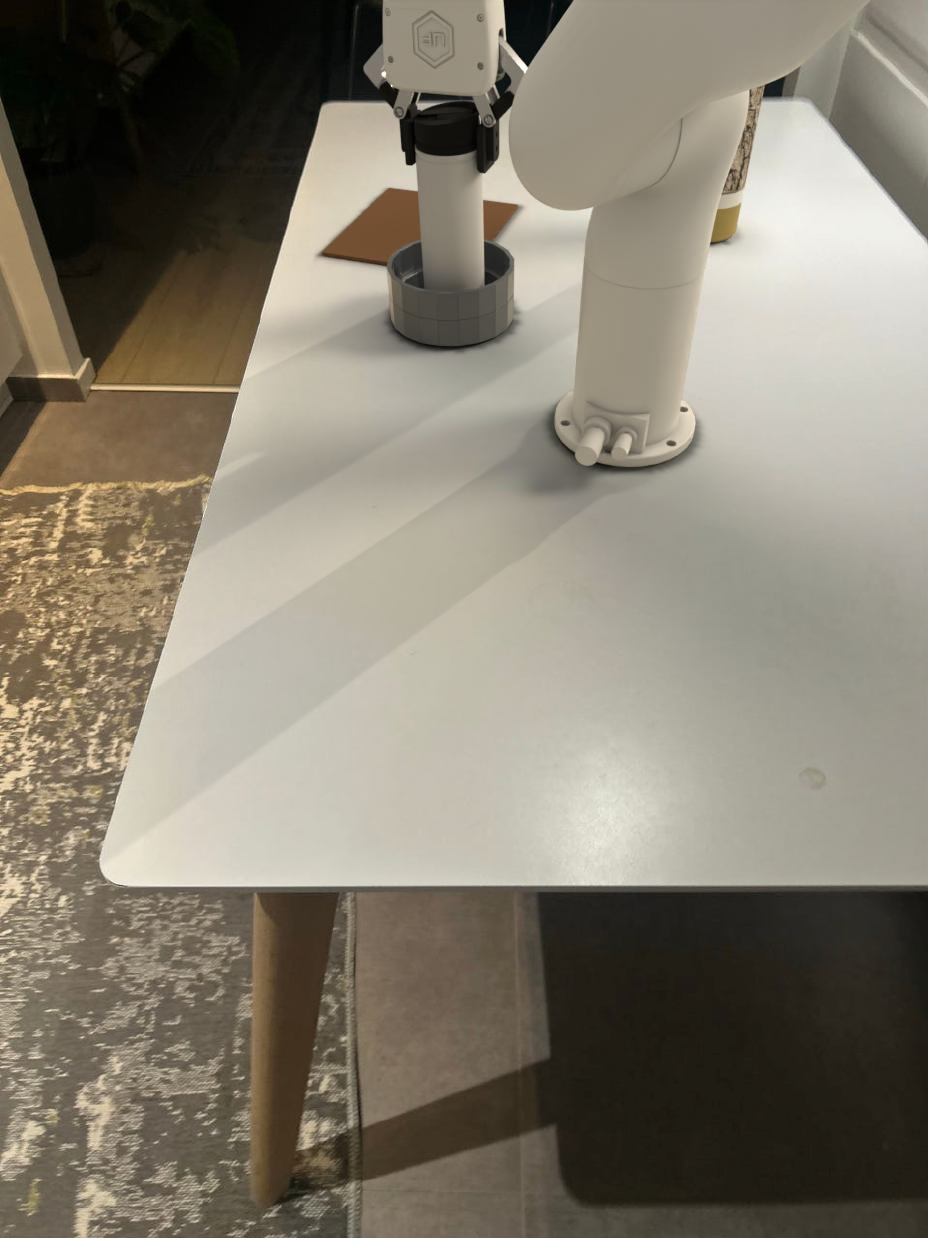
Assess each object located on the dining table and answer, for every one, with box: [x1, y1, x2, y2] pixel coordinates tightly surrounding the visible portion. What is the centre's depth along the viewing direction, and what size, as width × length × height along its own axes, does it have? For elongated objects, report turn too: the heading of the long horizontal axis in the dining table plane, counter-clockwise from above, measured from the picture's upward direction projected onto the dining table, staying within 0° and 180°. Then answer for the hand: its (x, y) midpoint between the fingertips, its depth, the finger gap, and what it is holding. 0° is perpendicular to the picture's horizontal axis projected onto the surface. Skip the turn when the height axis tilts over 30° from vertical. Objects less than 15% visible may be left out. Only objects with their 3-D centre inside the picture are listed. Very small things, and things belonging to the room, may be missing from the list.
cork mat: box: [321, 187, 519, 266], centre depth 113 cm, size 20×18×1 cm
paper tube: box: [710, 84, 766, 243], centre depth 102 cm, size 7×7×25 cm
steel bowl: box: [386, 239, 515, 347], centre depth 96 cm, size 13×13×6 cm
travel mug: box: [414, 100, 484, 291], centre depth 90 cm, size 6×7×20 cm
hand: (450, 162), depth 87 cm, fingers closed on travel mug, 6 cm apart
